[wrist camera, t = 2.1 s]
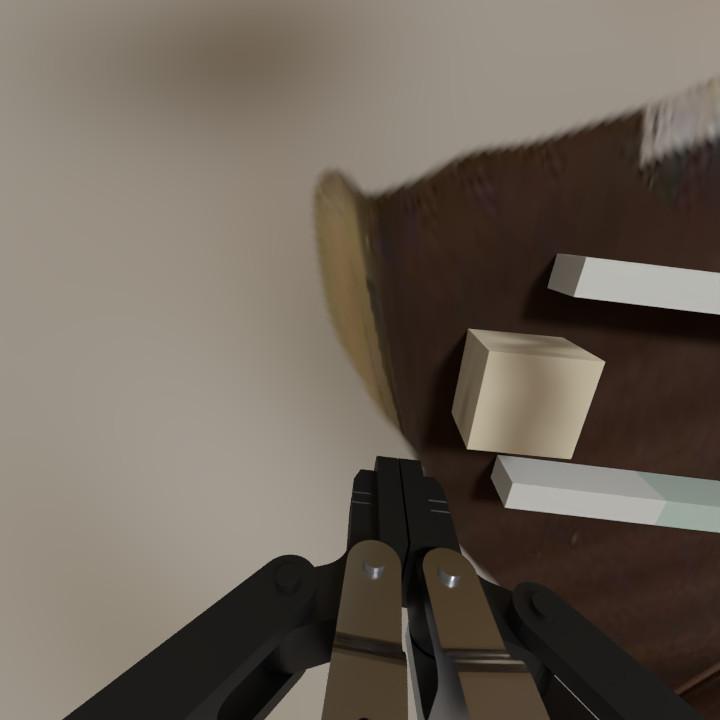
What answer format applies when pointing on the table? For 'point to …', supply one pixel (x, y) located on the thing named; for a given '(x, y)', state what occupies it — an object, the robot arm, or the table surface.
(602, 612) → the table surface
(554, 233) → the table surface
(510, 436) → the maple block
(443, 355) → the table surface
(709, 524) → the channel
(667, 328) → the table surface
